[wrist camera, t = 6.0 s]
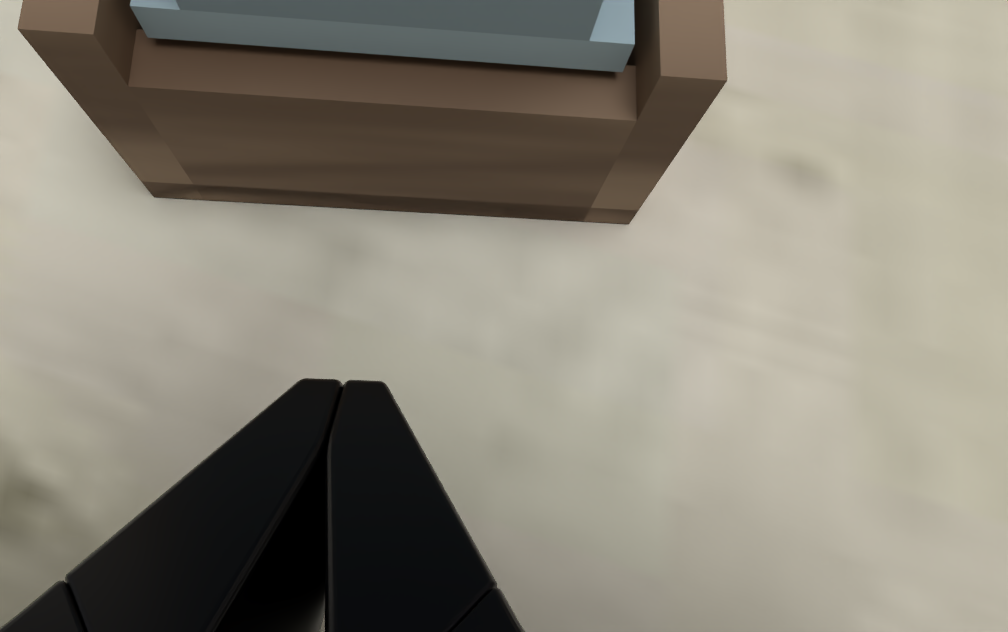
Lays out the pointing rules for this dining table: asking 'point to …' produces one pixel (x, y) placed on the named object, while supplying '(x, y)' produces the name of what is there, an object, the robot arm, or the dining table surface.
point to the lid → (411, 28)
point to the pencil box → (388, 116)
